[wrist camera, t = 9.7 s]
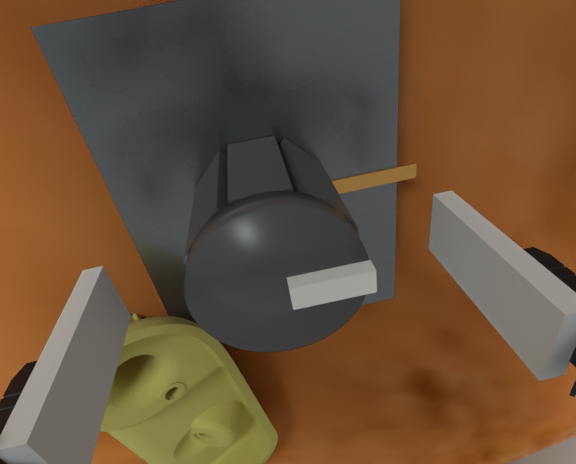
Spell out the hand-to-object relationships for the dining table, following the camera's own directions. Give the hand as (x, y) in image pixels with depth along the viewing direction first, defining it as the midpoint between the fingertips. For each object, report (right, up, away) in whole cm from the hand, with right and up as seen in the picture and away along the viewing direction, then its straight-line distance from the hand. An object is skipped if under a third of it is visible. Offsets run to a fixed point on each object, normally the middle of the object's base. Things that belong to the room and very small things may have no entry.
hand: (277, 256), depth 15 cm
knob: (-1, +3, +4) cm, 5 cm away
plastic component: (-8, -9, +13) cm, 18 cm away
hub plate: (-1, +3, +5) cm, 6 cm away
